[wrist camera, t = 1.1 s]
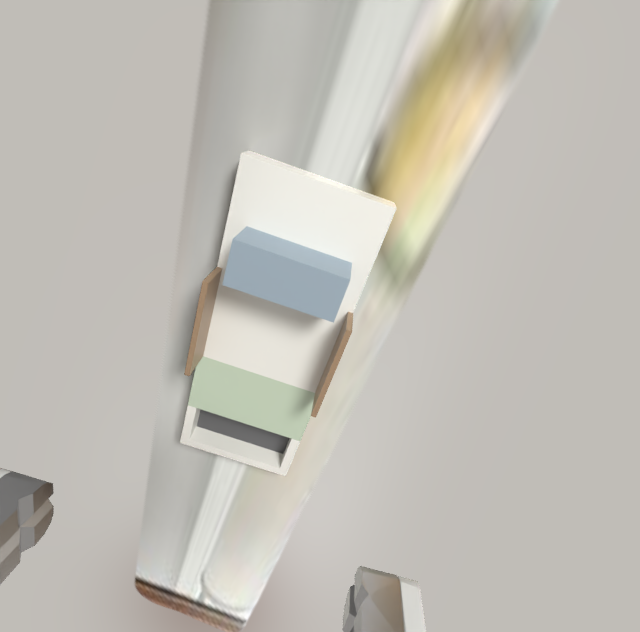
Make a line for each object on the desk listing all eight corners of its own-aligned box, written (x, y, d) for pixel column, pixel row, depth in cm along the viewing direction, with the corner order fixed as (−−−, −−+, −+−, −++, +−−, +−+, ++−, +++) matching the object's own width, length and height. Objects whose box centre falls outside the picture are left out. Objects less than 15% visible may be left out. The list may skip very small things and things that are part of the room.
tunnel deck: (249, 150, 33) (227, 156, 28) (394, 202, 34) (399, 218, 28) (188, 427, 48) (166, 466, 43) (289, 460, 49) (279, 502, 43)
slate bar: (246, 226, 33) (232, 238, 30) (352, 262, 34) (350, 279, 30) (236, 268, 35) (222, 284, 32) (336, 302, 36) (333, 322, 32)
